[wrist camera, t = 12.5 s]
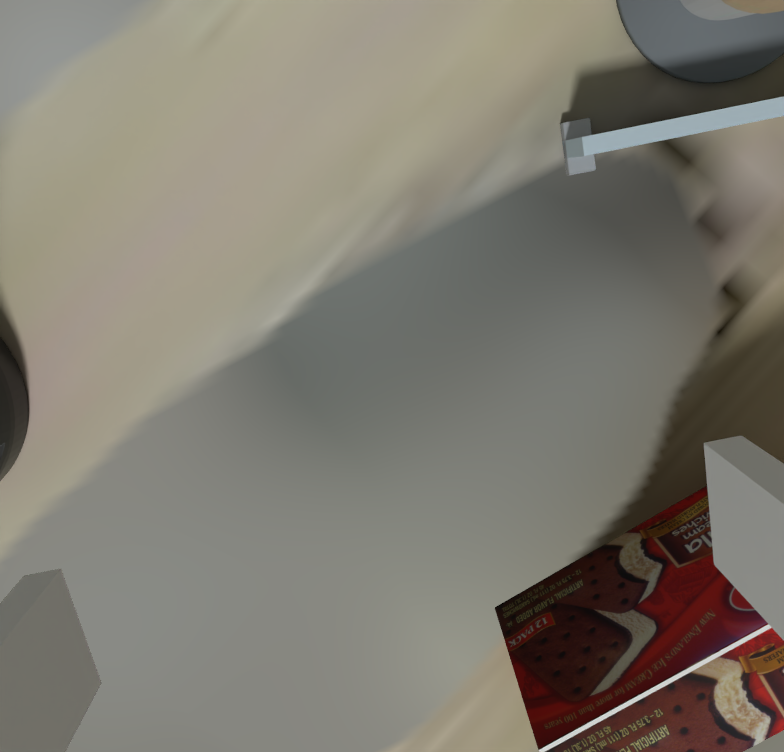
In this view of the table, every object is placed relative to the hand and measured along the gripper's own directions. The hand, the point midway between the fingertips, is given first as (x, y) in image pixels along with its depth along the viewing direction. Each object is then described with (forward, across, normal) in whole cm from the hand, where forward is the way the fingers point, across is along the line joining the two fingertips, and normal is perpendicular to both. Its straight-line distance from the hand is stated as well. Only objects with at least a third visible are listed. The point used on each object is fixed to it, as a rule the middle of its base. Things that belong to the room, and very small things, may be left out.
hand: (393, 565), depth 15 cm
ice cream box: (+32, +15, -22) cm, 42 cm away
